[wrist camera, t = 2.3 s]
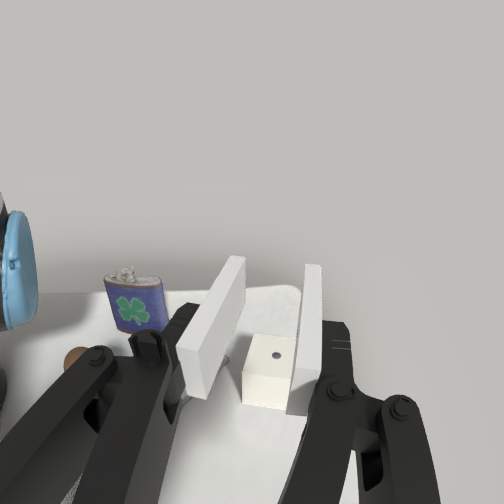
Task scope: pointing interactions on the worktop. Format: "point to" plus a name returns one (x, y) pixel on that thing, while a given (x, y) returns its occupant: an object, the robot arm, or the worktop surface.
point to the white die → (268, 371)
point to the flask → (136, 301)
